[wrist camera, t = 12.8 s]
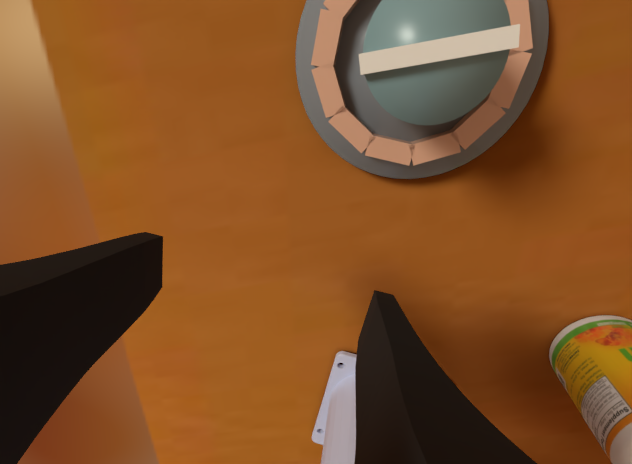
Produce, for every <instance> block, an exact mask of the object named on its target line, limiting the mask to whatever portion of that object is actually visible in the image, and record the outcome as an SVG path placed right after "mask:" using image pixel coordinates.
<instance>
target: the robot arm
mask: <svg viewBox="0 0 632 464" xmlns="http://www.w3.org/2000/svg"><path fill="white" fill-rule="evenodd" d="M162 257H163V236H159V235H155V234H151V233H147V232H143V233H138V234H133V235H128V236H124V237H120V238H117V239H113V240H109V241H105V242H101V243H98V244H94V245H90V246H87V247H83V248H79V249H75V250H70V251H66V252H63V253H58V254H53V255H49V256H45V257H41V258H36V259H31V260H26V261H21V262H15V263H9V264H3V265H0V464H17V463H18V461H19V460H20V458H21V457H22V456H23V454H24V453H25V452H26V450H27V449H28V447H29V446H30V444H31V443H32V442H33V440H34V438H35V437H36V436H37V435H38V433H39V432H40V431H41V429H42V428H43V426H44V425H45V424H46V423H47V421H48V420H49V419H50V417H51V416H52V415H53V414H54V412H55V411H56V410H57V408H58V407H59V406H60V404H61V403H62V402H63V400H64V399H65V398H66V397H67V395H68V394H69V393H70V392H71V390H72V389H73V388H74V387H75V385H76V384H77V383H78V382H79V380H80V379H81V378H82V377H83V375H84V374H85V373H86V372H87V371H88V370H89V368H91V367H92V365H93V364H94V363H95V362H96V361H97V360H98V359H99V358H100V357H101V356H102V355H103V354H104V353H105V352H106V351H107V350H108V349H109V348H110V347H111V346H112V345H113V344H114V343H115V342H116V341H117V340H118V339H119V338H120V336H121V335H122V334H123V333H124V332H125V331H126V330H127V329H128V328H129V327H130V326H131V325H132V324H133V323H134V322H135V321H136V320H137V319H138V318H139V317H140V316H141V315H142V314H143V312H144V311H145V310H146V309H147V308H148V306H149V305H150V304H151V302H152V301H153V300H154V298H155V297H156V295H157V294H158V292H159V291H160V290H161V288H162ZM339 363H343V364H339ZM312 440H313V441H314V442H315V443H318V444H322V445H323V452H322V459H321V464H537V463H535V462H534V461H533V460H532V459H531V458H530V457H528V456H527V455H526V454H525V453H524V452H523V451H522V450H520V449H519V448H518V447H517V446H516V445H515V444H514V443H512V442H511V441H510V440H509V439H508V438H507V437H506V436H505V435H503V434H502V433H501V432H500V431H499V430H498V429H497V428H496V427H495V426H494V425H493V424H492V423H491V422H490V421H489V420H488V419H487V418H486V417H485V416H484V415H483V414H482V413H481V412H480V411H479V410H478V409H477V408H476V407H475V406H474V405H473V404H472V403H471V402H470V401H469V400H468V399H467V398H466V397H465V396H464V395H463V394H462V393H461V391H460V390H459V389H458V388H457V387H456V386H455V384H454V383H453V382H452V381H451V380H450V379H449V377H448V376H447V375H446V374H445V373H444V371H443V370H442V369H441V368H440V366H439V365H438V364H437V362H436V361H435V360H434V358H433V357H432V356H431V354H430V353H429V352H428V350H427V349H426V347H425V346H424V344H423V343H422V342H421V340H420V339H419V337H418V336H417V334H416V332H415V331H414V329H413V328H412V326H411V324H410V323H409V321H408V319H407V318H406V316H405V314H404V313H403V311H402V309H401V307H400V306H399V304H398V302H397V301H396V299H395V297H394V296H393V295H391V294H387V293H383V292H379V291H374V294H373V297H372V300H371V303H370V306H369V309H368V312H367V315H366V318H365V321H364V324H363V327H362V330H361V333H360V336H359V340H358V348H357V355H356V354H353V353H349V352H345V351H340V352H338V353H337V354H336V357H335V360H334V363H333V367H332V370H331V373H330V377H329V380H328V383H327V387H326V390H325V393H324V397H323V400H322V403H321V407H320V410H319V413H318V417H317V420H316V423H315V427H314V430H313V433H312Z"/></svg>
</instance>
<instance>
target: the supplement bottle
mask: <svg viewBox="0 0 632 464" xmlns="http://www.w3.org/2000/svg"><path fill="white" fill-rule="evenodd" d="M549 359H550V363H551V366H552V368H553V370H554V372H555V373H556V375H557V377H558V379H559V380H560V382H561V383H562V385H563V386H564V388H565V390H566V391H567V393H568V394H569V396H570V397H571V399H572V401H573V402H574V404H575V406H576V407H577V409H578V410H579V412H580V414H581V415H582V417H583V418H584V420H585V422H586V423H587V425H588V426H589V428H590V429H591V431H592V433H593V434H594V436H595V437H596V439H597V440H598V442H599V444H600V445H601V447H602V449H603V450H604V452H605V453H606V455H607V456H608V458H609V460H610V461H611V463H612V464H632V320H629V319H627V318H624V317H619V316H612V315H599V316H592V317H588V318H584V319H581V320H578V321H576V322H574V323H572V324H570V325H568V326H567V327H565V328H564V329H563V330H562V331H561V332H560V333H558V335H557V336H556V337H555V339H554V340H553V342H552V344H551V347H550V351H549Z"/></svg>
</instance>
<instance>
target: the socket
mask: <svg viewBox="0 0 632 464" xmlns="http://www.w3.org/2000/svg"><path fill="white" fill-rule="evenodd" d="M381 1H382V0H307V1H306V4H305V7H304V10H303V13H302V16H301V20H300V25H299V29H298V34H297V43H296V74H297V81H298V87H299V91H300V95H301V99H302V102H303V105H304V107H305V110H306V112H307V115H308V117H309V119H310V120H311V122H312V124H313V126H314V128H315V129H316V131H317V132H318V133H319V135H320V136H321V138H322V139H323V140H324V141H325V142H326V143H327V145H328V146H329V147H330V148H331V149H332V150H333V151H334V152H336V153H337V154H338V155H339V156H340V157H342V158H343V159H344V160H346V161H348V162H349V163H351V164H352V165H354V166H356V167H358V168H360V169H362V170H364V171H367V172H369V173H373V174H376V175H379V176H384V177H390V178H398V179H414V178H424V177H429V176H434V175H439V174H442V173H444V172H447V171H450V170H453V169H455V168H457V167H460V166H462V165H464V164H466V163H468V162H469V161H471V160H473V159H474V158H476V157H478V156H479V155H481V154H482V153H483V152H485V151H486V150H487V149H488V148H490V147H491V146H492V145H494V144H495V143H496V142H497V141H498V140H499V139H500V138H501V137H502V136H503V135H504V134H505V133H506V132H507V131H508V129H509V128H510V127H511V126H512V124H513V123H514V122H515V121H516V120H517V118H518V117H519V115H520V114H521V112H522V111H523V109H524V108H525V106H526V105H527V103H528V101H529V99H530V97H531V95H532V93H533V91H534V89H535V87H536V84H537V82H538V79H539V76H540V74H541V71H542V68H543V64H544V59H545V55H546V51H547V43H548V34H549V12H548V5H547V0H504V2H505V4H506V6H507V9H508V13H509V16H510V23H511V25H517V24H520V36H519V47H518V48H514V49H510V51H509V55H508V59H507V62H506V65H505V68H504V70H503V72H502V74H501V76H500V78H499V80H498V82H497V83H496V85H495V86H494V88H493V89H492V90H491V92H490V93H489V94H488V95H487V97H486V98H485V99H484V100H483V101H482V102H481V103H480V104H479V105H477V106H476V107H475V108H473V109H472V110H471V111H469V112H468V113H466V114H465V115H463V116H461V117H459V118H457V119H455V120H452V121H449V122H446V123H442V124H437V125H416V124H411V123H408V122H405V121H402V120H400V119H398V118H396V117H394V116H392V115H391V114H390V113H388V112H387V111H386V110H385V109H384V108H383V107H382V106H381V105H380V104H379V103H378V102H377V100H376V99H375V98H374V96H373V94H372V93H371V91H370V89H369V86H368V84H367V81H366V77H365V75H361V74H360V64H359V54H361V53H363V45H364V39H365V34H366V31H367V28H368V25H369V22H370V20H371V18H372V16H373V14H374V12H375V10H376V8H377V7H378V5H379V4H380V2H381Z"/></svg>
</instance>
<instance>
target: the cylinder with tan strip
mask: <svg viewBox="0 0 632 464" xmlns="http://www.w3.org/2000/svg"><path fill="white" fill-rule="evenodd" d="M519 36H520V24H517V25H511V23H510V16H509V13H508V9H507V6H506V4H505V2H504V0H382V1H381V2H380V4H379V5H378V7H377V8H376V10H375V12H374V14H373V16H372V18H371V20H370V22H369V25H368V28H367V31H366V34H365V39H364V45H363V53H361V54H359V64H360V74H361V75H365V77H366V81H367V84H368V86H369V89H370V91H371V93H372V94H373V96H374V98H375V99H376V100H377V102H378V103H379V104H380V105H381V106H382V107H383V108H384V109H385V110H386V111H387V112H388V113H390V114H391V115H392V116H394V117H396V118H398V119H400V120H402V121H405V122H408V123H411V124H416V125H437V124H442V123H446V122H449V121H452V120H455V119H457V118H459V117H461V116H463V115H465V114H466V113H468V112H469V111H471V110H472V109H473V108H475V107H476V106H477V105H479V104H480V103H481V102H482V101H483V100H484V99H485V98H486V97H487V95H488V94H489V93H490V92H491V90H492V89H493V88H494V86H495V85H496V83H497V82H498V80H499V78H500V76H501V74H502V72H503V70H504V68H505V65H506V62H507V59H508V55H509V51H510V49H514V48H518V47H519Z"/></svg>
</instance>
